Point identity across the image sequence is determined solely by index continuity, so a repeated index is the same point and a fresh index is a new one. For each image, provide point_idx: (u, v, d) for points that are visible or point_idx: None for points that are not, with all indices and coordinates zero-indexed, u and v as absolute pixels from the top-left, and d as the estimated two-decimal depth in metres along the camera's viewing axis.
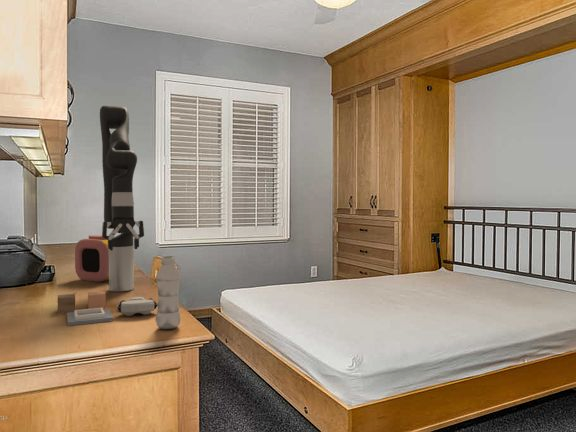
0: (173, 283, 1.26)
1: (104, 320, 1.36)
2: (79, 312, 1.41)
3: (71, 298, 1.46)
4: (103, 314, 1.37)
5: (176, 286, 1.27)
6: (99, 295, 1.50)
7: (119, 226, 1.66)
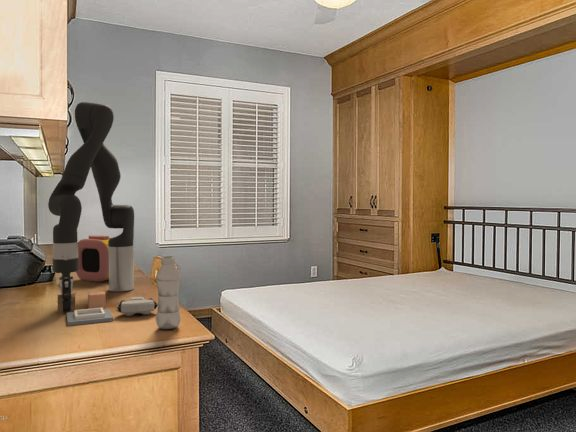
0: (173, 283, 1.26)
1: (104, 320, 1.36)
2: (79, 312, 1.41)
3: (71, 298, 1.46)
4: (103, 314, 1.37)
5: (176, 286, 1.27)
6: (99, 295, 1.50)
7: (72, 281, 1.47)
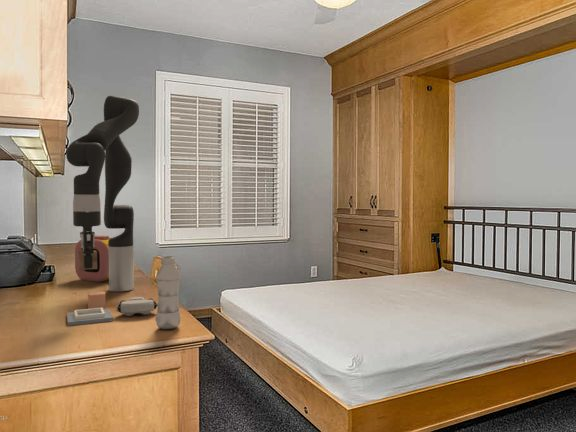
0: (173, 283, 1.26)
1: (104, 320, 1.36)
2: (79, 312, 1.41)
3: (93, 253, 1.37)
4: (103, 314, 1.37)
5: (176, 286, 1.27)
6: (99, 295, 1.50)
7: (94, 236, 1.38)
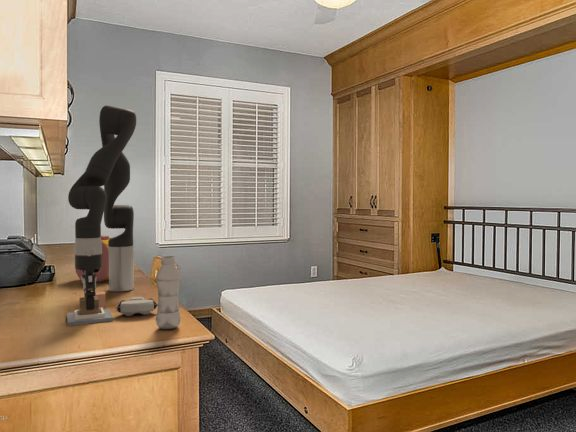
0: (173, 283, 1.26)
1: (104, 320, 1.36)
2: (79, 312, 1.41)
3: (94, 301, 1.37)
4: (103, 314, 1.37)
5: (176, 286, 1.27)
6: (99, 295, 1.50)
7: None
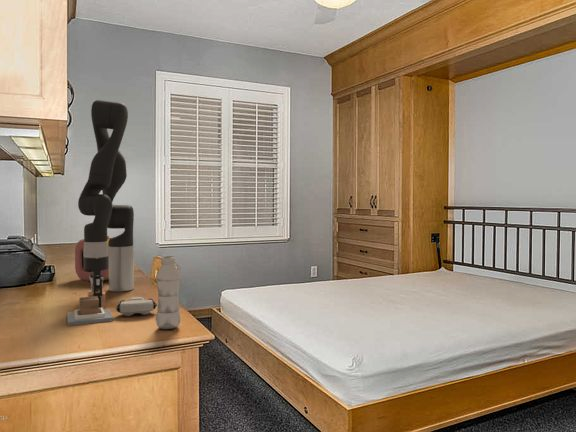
0: (173, 283, 1.26)
1: (104, 320, 1.36)
2: (79, 312, 1.41)
3: (94, 301, 1.37)
4: (103, 314, 1.37)
5: (176, 286, 1.27)
6: None
7: None
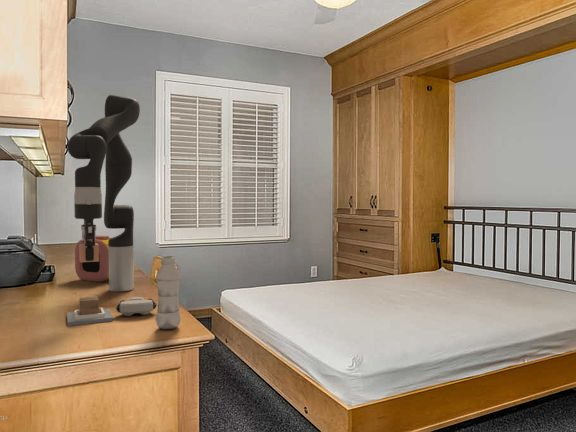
0: (173, 283, 1.26)
1: (104, 320, 1.36)
2: (79, 312, 1.41)
3: (94, 301, 1.37)
4: (103, 314, 1.37)
5: (176, 286, 1.27)
6: None
7: None
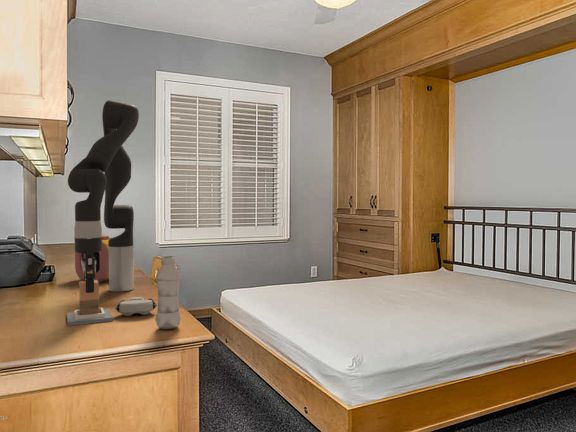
0: (173, 283, 1.26)
1: (104, 320, 1.36)
2: (79, 312, 1.41)
3: (94, 301, 1.37)
4: (103, 314, 1.37)
5: (176, 286, 1.27)
6: None
7: None
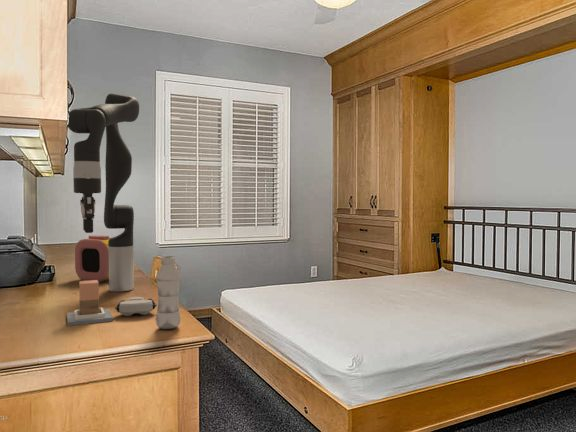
0: (173, 283, 1.26)
1: (104, 320, 1.36)
2: (79, 312, 1.41)
3: (94, 301, 1.37)
4: (103, 314, 1.37)
5: (176, 286, 1.27)
6: (92, 284, 1.37)
7: None
